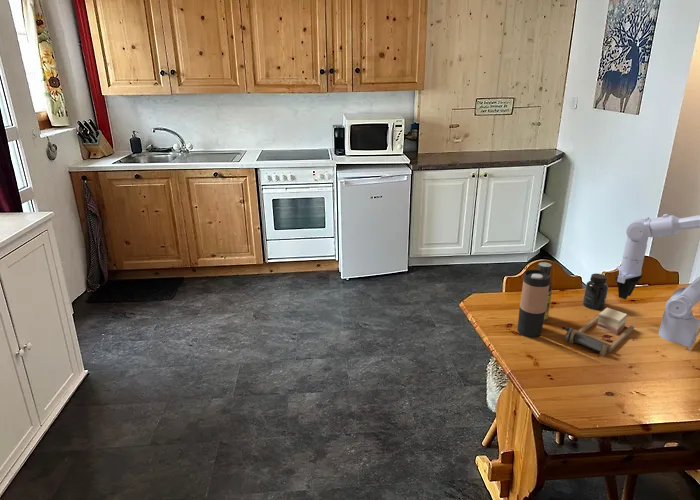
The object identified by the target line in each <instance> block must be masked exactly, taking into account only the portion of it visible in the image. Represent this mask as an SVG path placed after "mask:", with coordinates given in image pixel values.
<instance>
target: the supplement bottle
mask: <svg viewBox="0 0 700 500" xmlns="http://www.w3.org/2000/svg"><path fill="white" fill-rule="evenodd" d="M607 279H608V276H606V275H605V274H602V273H596V272H595V273H592V274H591V275H590V279H589V281H587V282H586V285H585V289H584V290H585V291H584V295H583V299H582V305H583V306H584V307H585V308H586V309H589V310H593V311H603V310H605V306H606V301H607V295H608V291H609V286H608V284H607Z"/></svg>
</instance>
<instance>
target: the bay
mask: <svg viewBox="0 0 700 500" xmlns="http://www.w3.org/2000/svg"><path fill="white" fill-rule="evenodd" d="M599 314H600V313H598V314H597V315H595V316H594V317H593V318H591V319H590V320H589V321H588V322H586V323H585V324H584V325H582V327H580V328H579V329H578V330H577V329H573V330H574V331H576V332H577V333H579V334H582V335H585V336H587V337H590V338H592V339H595V340H598V341H600V342H603V343H604V342H605V343H607V344H608V348H607V352H606V354H607V353H608V354H610V353H611V352H612V351H613V350H614V349H616V347H617V346H619V345H620V343H622V341H624V340H625V339H626V338H627V337H629V335H630V334H631V333H632V332H633V331H634V329H635V326H634V325H630V326H628V327H627V328H626V329H625V330H624V331H623V332H622V333H621V334H620V335H618V337H617V338H616V339H614V341H613V342H608V341H606V340H603V339H600V338H599V337H596V336H593V335H590V334H587V333H586V331H587V330H589V329H590V328H591V327H592V326H594V324H597V323H598V318H599Z"/></svg>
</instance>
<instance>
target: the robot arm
mask: <svg viewBox="0 0 700 500" xmlns="http://www.w3.org/2000/svg"><path fill="white" fill-rule="evenodd" d="M692 229H700V214H698V215H692V216H687V217H681V218H680V217H678V216H676V215H674V214H671V215H669V213H664V214H663V215H662V216H658V217H652V218H650V217H644V218H638V219H636V220H634V221H632V222H631V223H630V224H629V225H628V226H627V228H626V230H625V231H626V235H627V237H626V241H625V246H624V249H623V255H622V259H621V263H620V265H618V266H616V267H615V270H617V271H618V275H616V276H615V282H616V284H617V290H618V291H617V292H618V298H620V299H622V300H627V298H628V297H631V295H632V294H633V291H634V290H635V289H636V288H635V287H636V285H637V284H638V283H639V281H640V280H641V279H643V274H642V269H643V268H642V267H643V264H644V260H645V255H646V251H647V247H648V240H649V238H658V237H659V238H661V237H667V236H668V237H669V236H675V235H677V234H679V233H680V232H681V230H692ZM699 302H700V276H698V277H697V278H695V280H694V281H693V282H690V283H688V284H686V286H684V287H681V288H678V289H675V290H674V291H673V293H672V295H671V296H670V297H669V299H667V301H666V302H665V306H664V310H663V314H662V319H661V323H660V326H659V330H658V336H659V337H660V338H662V340H665V341H667V342H671V343H675V344H678V345H683V346H685V347H686V348H685V350H686V351H690V349H691V348H692V347H693V345H694V344H695V343H696V341H697V336H698V333H699V329H700V319H699V318H698V317H695V316H694V313H693V307H695V306H696V305H697V304H698V303H699Z"/></svg>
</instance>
